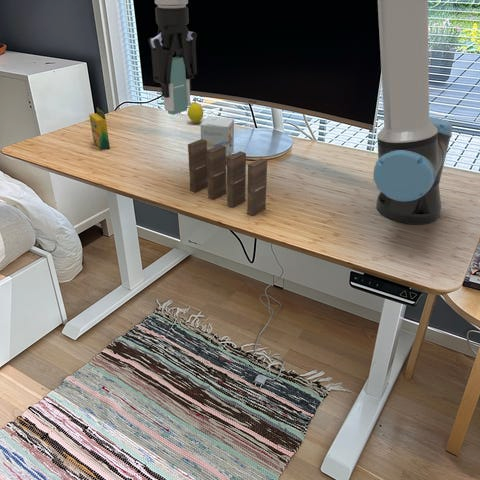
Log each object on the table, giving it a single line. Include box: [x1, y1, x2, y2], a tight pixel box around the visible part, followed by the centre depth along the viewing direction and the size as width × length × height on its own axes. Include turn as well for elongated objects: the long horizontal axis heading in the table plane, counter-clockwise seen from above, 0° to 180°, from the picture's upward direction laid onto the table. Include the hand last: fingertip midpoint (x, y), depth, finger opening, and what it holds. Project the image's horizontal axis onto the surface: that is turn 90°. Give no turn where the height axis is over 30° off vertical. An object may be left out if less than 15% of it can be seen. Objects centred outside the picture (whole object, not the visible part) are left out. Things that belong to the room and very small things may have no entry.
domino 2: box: [187, 138, 208, 193], centre depth 127 cm, size 2×5×13 cm, turn 140°
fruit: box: [187, 101, 204, 124], centre depth 174 cm, size 6×6×8 cm
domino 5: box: [246, 157, 268, 217], centre depth 116 cm, size 2×5×13 cm, turn 140°
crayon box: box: [88, 107, 111, 151], centre depth 153 cm, size 7×3×12 cm, turn 33°
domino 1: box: [167, 56, 188, 116], centre depth 120 cm, size 2×5×13 cm, turn 140°
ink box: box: [199, 115, 235, 165], centre depth 145 cm, size 9×9×12 cm
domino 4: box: [226, 151, 247, 209], centre depth 120 cm, size 2×5×13 cm, turn 140°
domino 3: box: [207, 145, 227, 201], centre depth 123 cm, size 2×5×13 cm, turn 140°
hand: (177, 107), depth 123 cm, fingers closed on domino 1, 5 cm apart
